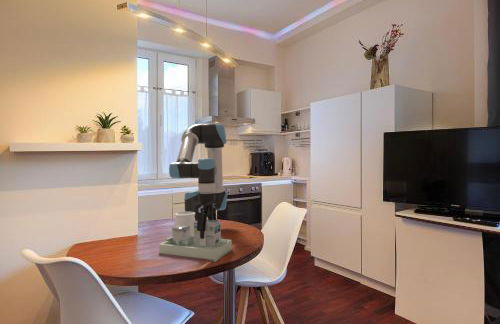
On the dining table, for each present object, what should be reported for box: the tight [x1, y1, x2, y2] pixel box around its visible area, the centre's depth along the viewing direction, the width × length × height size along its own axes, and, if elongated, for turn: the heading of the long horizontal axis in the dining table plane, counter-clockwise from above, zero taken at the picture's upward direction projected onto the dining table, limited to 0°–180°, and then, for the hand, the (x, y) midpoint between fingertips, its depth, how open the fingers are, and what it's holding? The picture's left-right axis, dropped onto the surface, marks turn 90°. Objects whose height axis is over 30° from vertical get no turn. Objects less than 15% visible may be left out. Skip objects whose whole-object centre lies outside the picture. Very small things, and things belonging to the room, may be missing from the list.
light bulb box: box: [194, 219, 222, 247], centre depth 140 cm, size 11×7×11 cm, turn 71°
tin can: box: [171, 225, 190, 247], centre depth 145 cm, size 8×8×10 cm
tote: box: [158, 236, 233, 263], centre depth 142 cm, size 17×28×6 cm, turn 69°
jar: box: [174, 211, 195, 236], centre depth 161 cm, size 11×10×15 cm
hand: (207, 243), depth 140 cm, fingers closed on light bulb box, 7 cm apart
